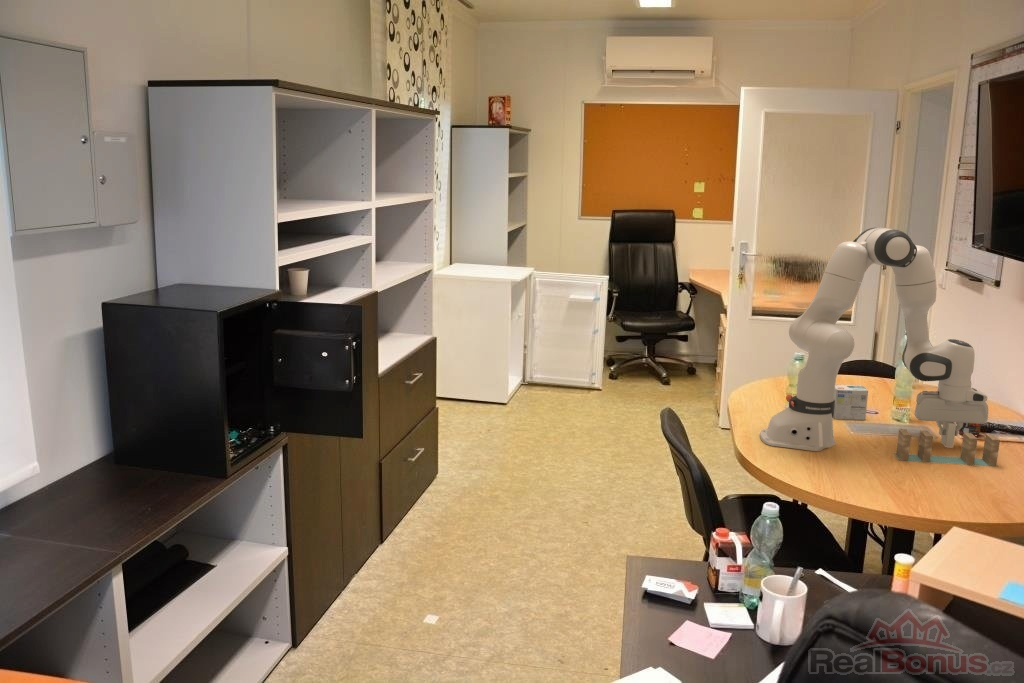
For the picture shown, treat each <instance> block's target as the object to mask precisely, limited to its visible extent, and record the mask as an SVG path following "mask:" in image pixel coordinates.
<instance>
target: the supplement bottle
mask: <svg viewBox="0 0 1024 683" xmlns="http://www.w3.org/2000/svg"><path fill="white" fill-rule="evenodd" d="M981 426H982V424H976V423H963V427H962V428H961V429H960V430H959V431H958V434H961V435H962V434H964V433H972V434H973V435H974V436H975V435H979V436H980V434H981V429H982V428H981Z"/></svg>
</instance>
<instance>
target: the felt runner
mask: <svg viewBox="0 0 1024 683" xmlns="http://www.w3.org/2000/svg"><path fill="white" fill-rule="evenodd" d="M893 454H894V456H895V457H896V459H897V460H899V461H900V462H906V461H905V460H900V458H899V457H898V456H897V455H896V452H895V453H894V452H893ZM960 457H961V456H948V455H947V456H943V455H931V458H930V462H929V463H930V464H931V463H933V464H948V465H961V466H962V465H963V466H964V465H965V466H972V465H971V464H966V463H965V462H964V461H963V460H962V459H961V458H960ZM907 462H917V463H924V462H923V461H922V460H921V459H920V458H919V457H918V456H917V454H912V453H911V454H910V453H909V458H908V461H907ZM973 466H978V467H979V466H981V467H984V466H985V467H990V466H989V465H988V464H987V463H985V462H984V461H983V460H982V458H980V457H979V458H977V457H975V461H974V465H973ZM995 467H998V468H999V466H998V465H996V466H994V468H995Z"/></svg>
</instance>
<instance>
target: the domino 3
mask: <svg viewBox="0 0 1024 683" xmlns="http://www.w3.org/2000/svg"><path fill="white" fill-rule="evenodd" d="M956 425H957V424H956V422H944V423H943V425H942V428H944V429H945V430H946V435H940V443H941V444H942V445H943V446H944V447H945V448H948V449H954V443H955V437H956V436H955V430H956Z"/></svg>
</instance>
